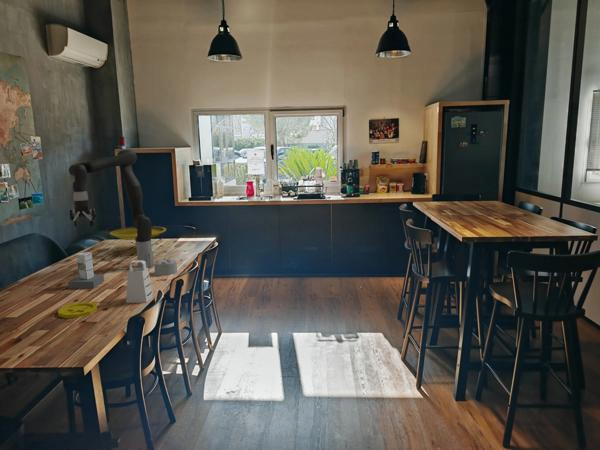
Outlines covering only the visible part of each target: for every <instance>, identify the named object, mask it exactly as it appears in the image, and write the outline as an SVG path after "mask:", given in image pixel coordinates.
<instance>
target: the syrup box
mask: <svg viewBox="0 0 600 450" xmlns="http://www.w3.org/2000/svg"><path fill="white" fill-rule="evenodd" d="M76 260H77V269H78V275H79V279H90V278H92V277H94V274H95V272H94V266H93V254H92V252H89V251H82V252H79V253H76Z"/></svg>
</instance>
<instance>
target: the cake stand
mask: <svg viewBox="0 0 600 450" xmlns="http://www.w3.org/2000/svg"><path fill="white" fill-rule="evenodd" d="M151 226H152V225H151ZM166 231H167V228H166V227H163V226H152V236H151V239H152V238H156V237H158V236H160V235H161V234H163V233H165V232H166ZM109 235H110V236H113V237H115V238H117V239H120V240H129V241H130V240H133V241H134V242H136V236H137V229H136V228H135V227H134V226H132V227H131V226H130V227H125V228H119V229H114V230H112V231H110V232H109ZM130 253H132V254H137V248H136V247H134V248H133V249H131V250H130Z"/></svg>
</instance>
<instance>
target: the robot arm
mask: <svg viewBox="0 0 600 450" xmlns="http://www.w3.org/2000/svg"><path fill="white" fill-rule="evenodd" d="M137 161H138V156H137V154H136V152H135V151H134V150H130V149H123V150H119V151H118V152H117V154H116V155H113V156H108V157H102V158H96V159H92V160H89V161H83V162H79V163H75V164H74V163H73V164H71V165H70V167H69V168H68V173H69V174H70V175H71V176H72V177H74V181H73V182H72V190H73V203H74V209H69V220H70V221H73V226H74V227H75V228H78V227H79V221H78V219H79V218H82V217H83V218H87V219H88V220H89V226H90V227H91V228H93V227H94V225H95V221H94V220H95V219H97V212H96V208H90V203H89V194H88V189H87V177H88V174H93V173H98V172H101V171H104V170H108V169H112V168H115V167H118V168H119V169H120V172H121V175H122V179H123V183H124V187H125V193H126V197H127V200H128V204H129V206H130V210H131V211H130V212H131V218H132V225H133V227H135V229H136V233H137V236H136V241H135V248H137V253H136V257H137V259H136V260H144V261H145V262H146V268H148V269H149V268H152V267H154V263H155V260H154V259H155V258H154V251H153V250H152V249H153V248H152V238H151V236H152V228H153V227H152V221H151V219H150V218H149V217H148V216H146V215H145V213H144V210H143V200H144V199H143V197H144V196H143V190H142V187H141V183H140V181H139V179H138V178H137V177H136V175H135V173H134V170H133V166H132V165H134V164H135V163H136V162H137ZM90 213H91V214H90ZM74 214H75V215H74ZM137 268H143V263H142V262H137Z"/></svg>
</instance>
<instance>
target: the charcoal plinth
mask: <svg viewBox="0 0 600 450" xmlns="http://www.w3.org/2000/svg"><path fill="white" fill-rule="evenodd" d="M104 282H105V274H103V273H102V274H100V273H99V274H96V273H94V277H92V278H90V279H79V274H78V275H77V276H75V277H74V278H72V279H70V280H68V281H67V285H68V290H69V289H71V290H73V289H74V290H77V289H82V290H84V289H85V290H86V289H87V290H88V289H95V288H97V287H98V286H100V285H101V284H102V283H104Z"/></svg>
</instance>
